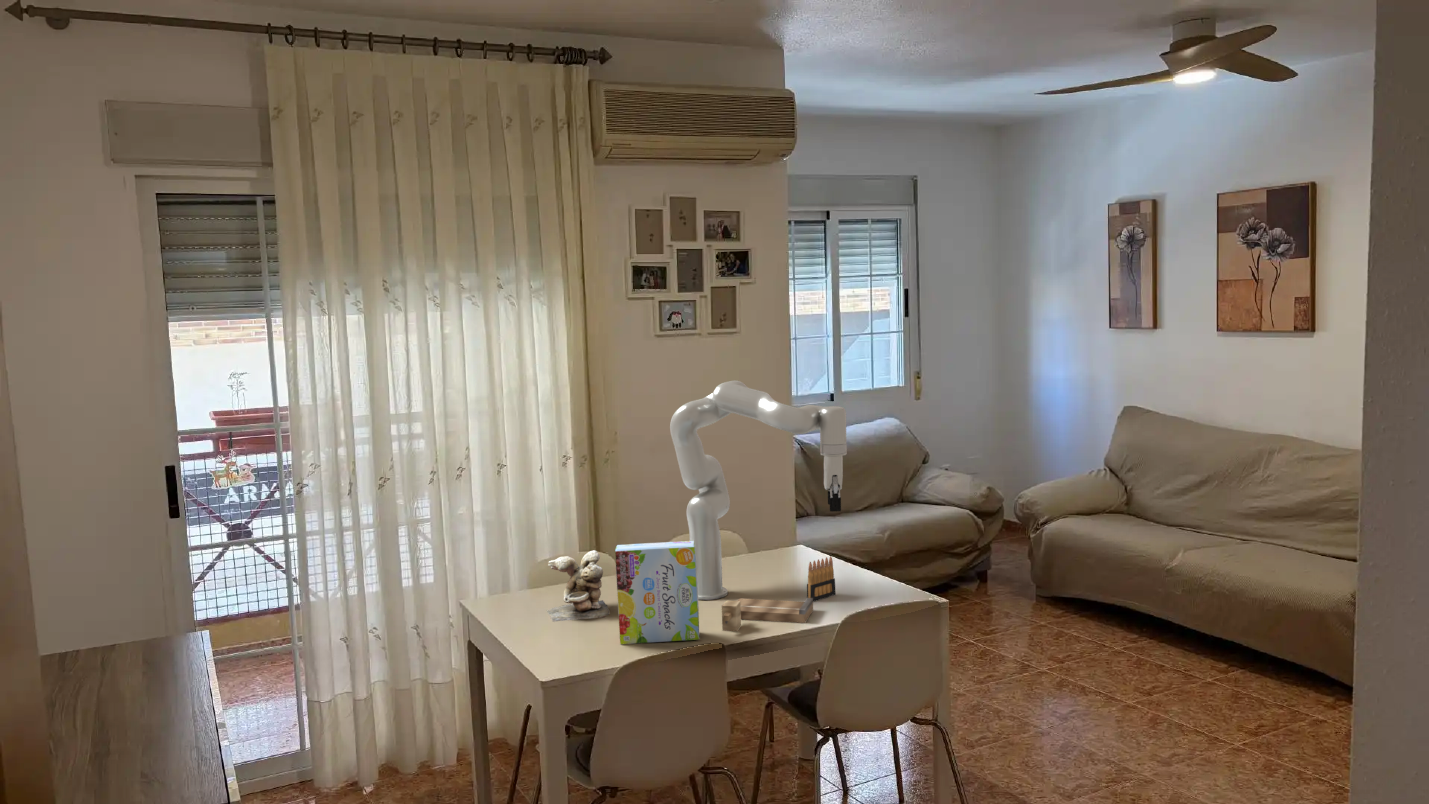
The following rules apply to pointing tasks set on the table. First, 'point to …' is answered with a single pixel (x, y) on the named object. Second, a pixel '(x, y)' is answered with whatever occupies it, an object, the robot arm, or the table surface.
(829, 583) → the ammunition clip
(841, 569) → the table surface
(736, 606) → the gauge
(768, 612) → the board
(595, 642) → the table surface
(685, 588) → the snack box
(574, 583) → the cherub figurine
